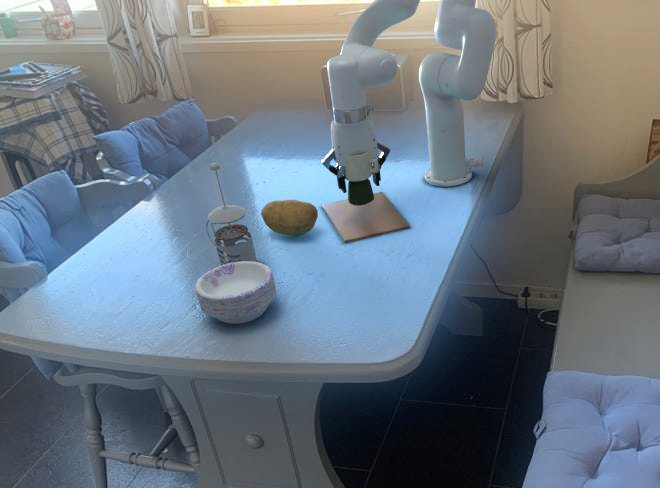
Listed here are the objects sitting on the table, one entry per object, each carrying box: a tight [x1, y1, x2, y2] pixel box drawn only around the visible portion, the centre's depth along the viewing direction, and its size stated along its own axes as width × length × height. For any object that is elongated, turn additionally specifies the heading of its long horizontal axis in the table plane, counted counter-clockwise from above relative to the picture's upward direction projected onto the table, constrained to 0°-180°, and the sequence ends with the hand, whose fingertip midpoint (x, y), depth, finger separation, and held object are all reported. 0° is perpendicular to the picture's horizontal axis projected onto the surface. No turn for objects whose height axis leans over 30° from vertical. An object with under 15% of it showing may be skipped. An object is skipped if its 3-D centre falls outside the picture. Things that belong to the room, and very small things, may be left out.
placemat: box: [321, 191, 411, 244], centre depth 186 cm, size 16×22×1 cm
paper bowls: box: [194, 261, 277, 325], centre depth 152 cm, size 15×15×8 cm
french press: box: [205, 162, 258, 266], centre depth 161 cm, size 10×12×25 cm
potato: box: [260, 199, 319, 236], centre depth 179 cm, size 10×14×8 cm
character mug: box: [335, 152, 379, 206], centre depth 180 cm, size 11×7×13 cm, turn 70°
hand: (360, 187), depth 181 cm, fingers closed on character mug, 7 cm apart
